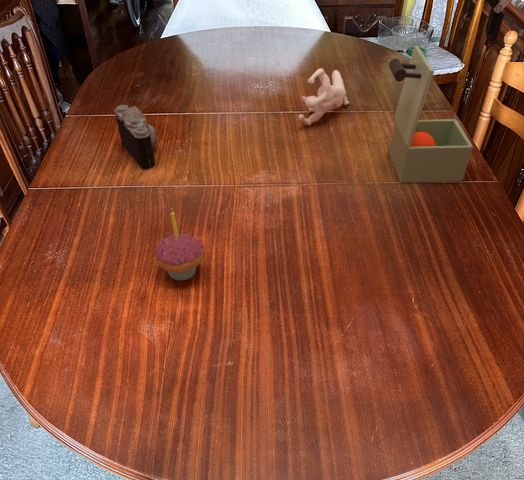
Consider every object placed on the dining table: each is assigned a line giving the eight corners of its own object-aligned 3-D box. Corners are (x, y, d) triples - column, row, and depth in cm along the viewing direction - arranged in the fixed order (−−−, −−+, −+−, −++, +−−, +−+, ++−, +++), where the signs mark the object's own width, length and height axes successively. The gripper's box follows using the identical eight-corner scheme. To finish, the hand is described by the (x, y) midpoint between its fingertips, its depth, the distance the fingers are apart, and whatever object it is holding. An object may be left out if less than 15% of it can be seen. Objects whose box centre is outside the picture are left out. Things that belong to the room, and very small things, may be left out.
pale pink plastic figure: (311, 54, 130) (310, 68, 116) (359, 68, 131) (363, 84, 117) (297, 108, 138) (295, 127, 124) (342, 120, 139) (345, 140, 125)
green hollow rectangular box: (446, 152, 118) (456, 119, 112) (462, 181, 110) (473, 147, 104) (388, 153, 118) (395, 120, 112) (400, 182, 110) (407, 148, 104)
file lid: (418, 45, 101) (389, 43, 100) (434, 70, 93) (402, 68, 92) (397, 118, 112) (370, 116, 111) (410, 146, 104) (381, 144, 103)
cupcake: (155, 262, 93) (143, 205, 84) (200, 253, 94) (193, 196, 85) (164, 292, 87) (152, 235, 78) (211, 282, 89) (205, 225, 80)
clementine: (425, 171, 116) (395, 170, 115) (425, 139, 115) (395, 139, 115) (440, 160, 108) (408, 160, 107) (441, 127, 108) (408, 126, 107)
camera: (170, 163, 116) (163, 119, 108) (142, 171, 114) (133, 127, 106) (145, 136, 124) (137, 94, 117) (119, 143, 122) (109, 101, 114)
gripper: (514, -97, 67) (474, 47, 80) (644, -98, 67) (582, 45, 80) (495, -106, 72) (460, 31, 84) (616, -108, 72) (562, 29, 85)
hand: (520, 38), depth 82 cm, fingers open, 9 cm apart
